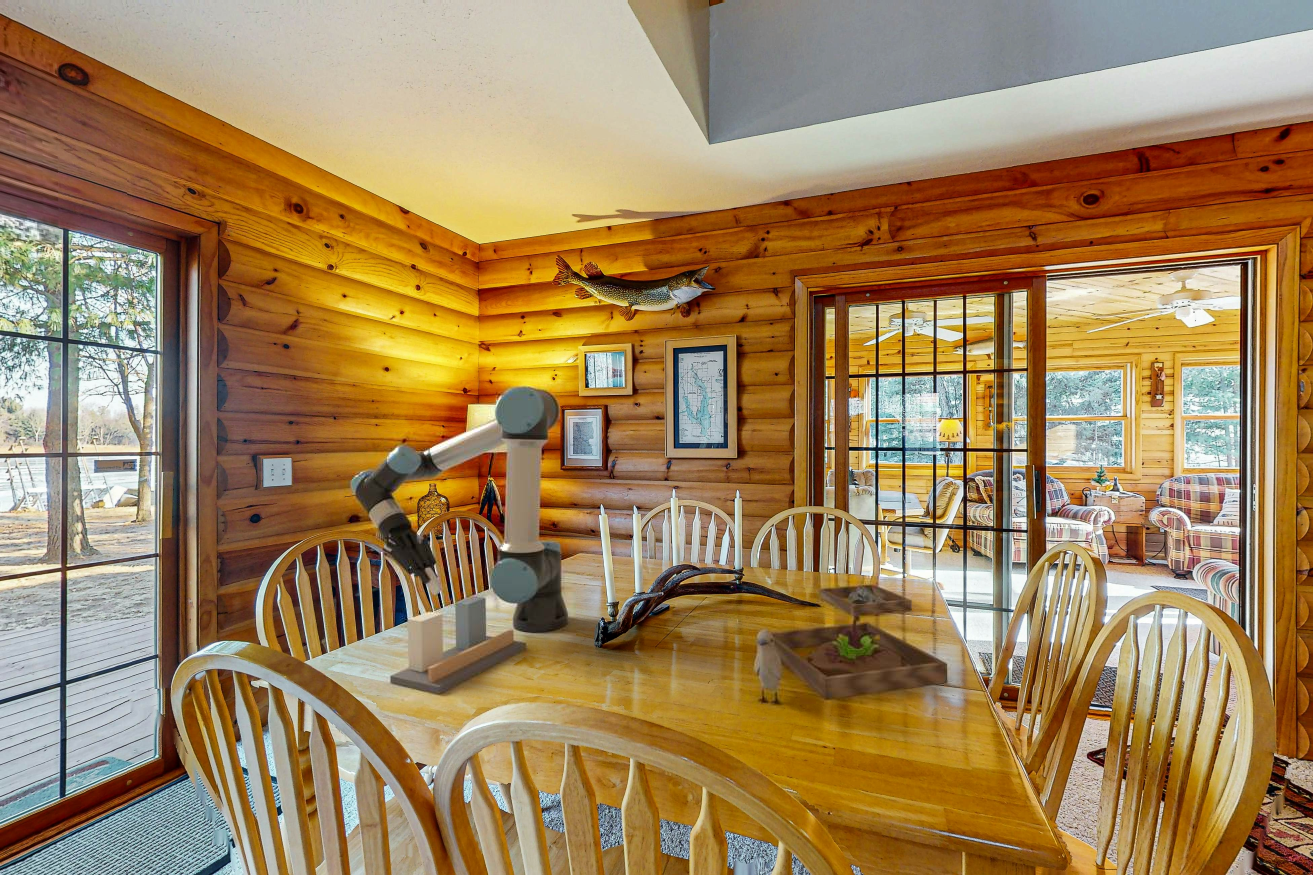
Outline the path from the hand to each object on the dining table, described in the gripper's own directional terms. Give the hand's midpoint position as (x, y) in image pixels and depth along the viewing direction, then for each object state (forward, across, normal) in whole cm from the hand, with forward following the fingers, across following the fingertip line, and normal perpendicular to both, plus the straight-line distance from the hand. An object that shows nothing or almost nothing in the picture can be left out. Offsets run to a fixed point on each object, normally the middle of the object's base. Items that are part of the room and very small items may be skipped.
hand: (438, 591), depth 149 cm
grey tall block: (+16, 0, -1) cm, 16 cm away
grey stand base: (+20, +7, 0) cm, 21 cm away
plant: (+78, -29, +58) cm, 101 cm away
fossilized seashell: (+75, -79, +56) cm, 123 cm away
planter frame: (+76, -28, +58) cm, 100 cm away
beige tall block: (+16, +14, -1) cm, 21 cm away
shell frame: (+74, -78, +56) cm, 121 cm away
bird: (+68, -3, +50) cm, 84 cm away
